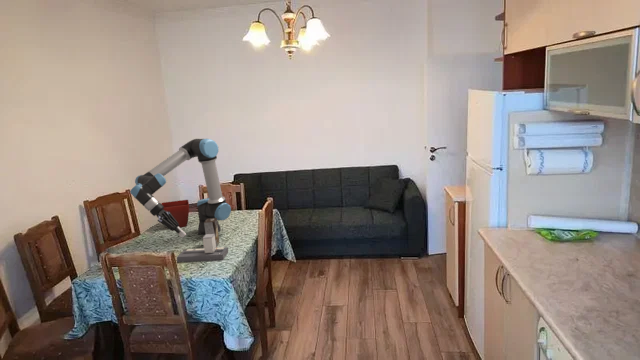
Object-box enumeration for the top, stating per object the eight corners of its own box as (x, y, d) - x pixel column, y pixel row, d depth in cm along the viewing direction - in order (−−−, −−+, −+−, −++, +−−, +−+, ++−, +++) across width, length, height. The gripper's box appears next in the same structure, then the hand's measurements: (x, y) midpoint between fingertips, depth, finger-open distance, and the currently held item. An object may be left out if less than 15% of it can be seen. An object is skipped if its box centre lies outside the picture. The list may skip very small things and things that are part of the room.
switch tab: (204, 253, 239) (202, 237, 237) (207, 249, 245) (205, 234, 243) (213, 252, 238) (211, 237, 237) (216, 248, 244) (214, 233, 243)
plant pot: (191, 220, 323) (188, 199, 320) (191, 227, 305) (188, 204, 302) (164, 224, 317) (161, 202, 314) (163, 231, 299) (160, 208, 296)
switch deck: (177, 262, 237) (176, 256, 237) (184, 254, 249) (184, 249, 248) (223, 259, 236) (222, 254, 235) (228, 252, 248) (227, 246, 247)
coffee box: (217, 246, 258) (214, 221, 255) (206, 247, 258) (203, 222, 254) (219, 242, 267) (216, 217, 264) (209, 243, 267) (206, 218, 263)
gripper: (154, 207, 247) (184, 236, 250) (144, 214, 234) (175, 244, 238) (163, 199, 245) (192, 228, 249) (153, 206, 233) (184, 236, 236)
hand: (184, 236), depth 243 cm, fingers closed
